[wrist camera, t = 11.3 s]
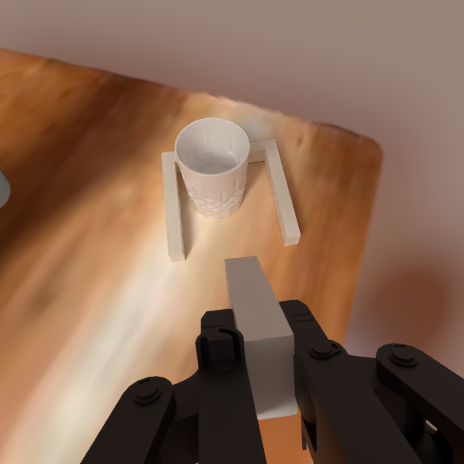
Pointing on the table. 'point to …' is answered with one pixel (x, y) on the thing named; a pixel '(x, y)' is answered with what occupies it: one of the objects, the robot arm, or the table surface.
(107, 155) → the table surface
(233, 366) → the robot arm
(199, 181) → the white cup
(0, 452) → the table surface
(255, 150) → the bay
